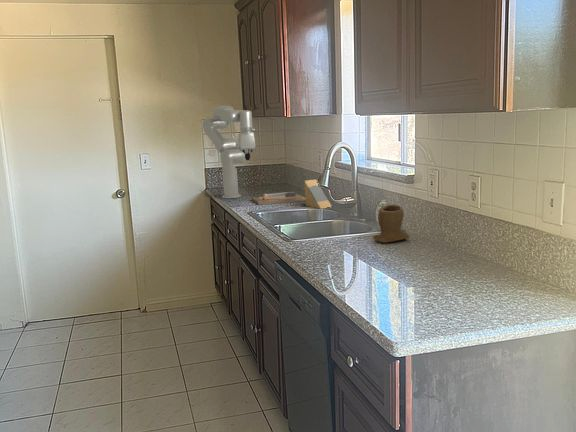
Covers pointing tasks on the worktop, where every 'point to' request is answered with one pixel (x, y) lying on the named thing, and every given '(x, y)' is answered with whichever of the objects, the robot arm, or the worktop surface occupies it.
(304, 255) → the worktop surface
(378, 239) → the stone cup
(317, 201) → the sandwich container
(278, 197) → the tongs lower arm
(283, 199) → the walnut cutting board
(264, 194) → the upper tong arm
